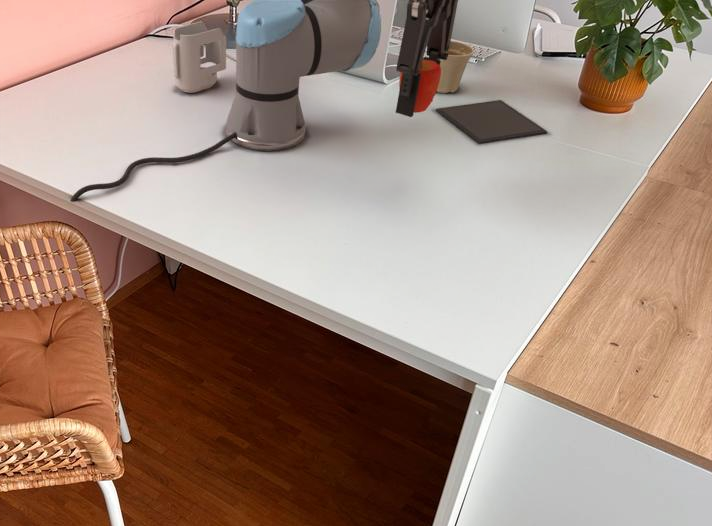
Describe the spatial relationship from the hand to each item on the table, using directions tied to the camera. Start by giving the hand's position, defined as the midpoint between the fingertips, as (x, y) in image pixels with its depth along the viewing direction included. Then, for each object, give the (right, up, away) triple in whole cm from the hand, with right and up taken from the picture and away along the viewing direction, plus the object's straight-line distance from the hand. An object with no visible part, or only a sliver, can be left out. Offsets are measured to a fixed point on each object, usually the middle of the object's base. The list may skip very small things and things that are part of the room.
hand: (414, 106), depth 113 cm
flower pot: (+16, +19, +43) cm, 50 cm away
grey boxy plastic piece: (-37, +19, +40) cm, 58 cm away
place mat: (+22, +8, +31) cm, 39 cm away
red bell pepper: (0, 0, 0) cm, 1 cm away
